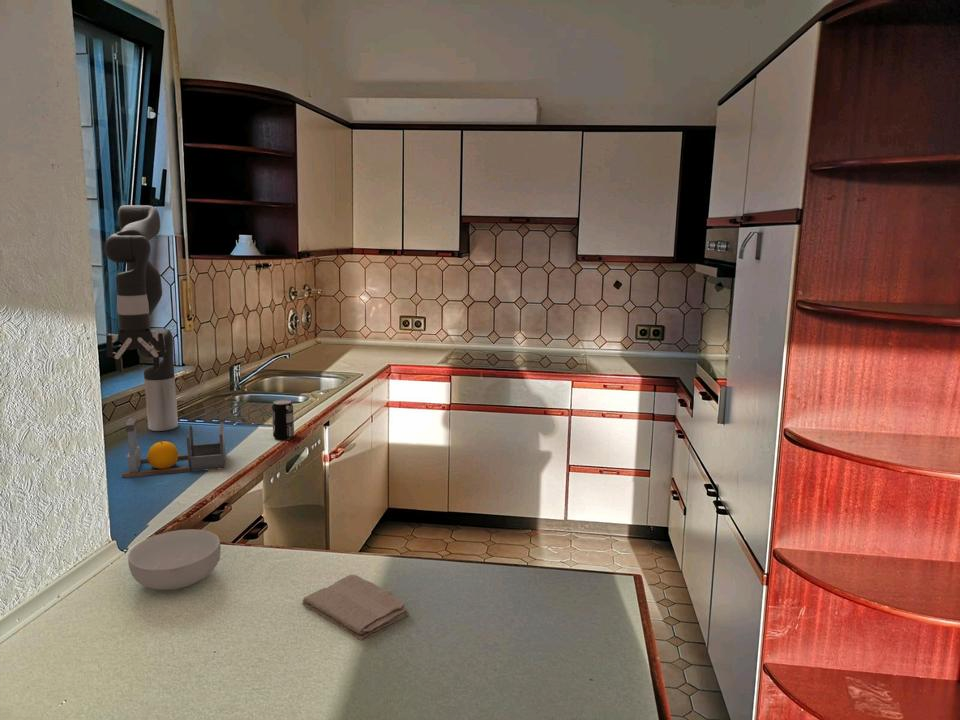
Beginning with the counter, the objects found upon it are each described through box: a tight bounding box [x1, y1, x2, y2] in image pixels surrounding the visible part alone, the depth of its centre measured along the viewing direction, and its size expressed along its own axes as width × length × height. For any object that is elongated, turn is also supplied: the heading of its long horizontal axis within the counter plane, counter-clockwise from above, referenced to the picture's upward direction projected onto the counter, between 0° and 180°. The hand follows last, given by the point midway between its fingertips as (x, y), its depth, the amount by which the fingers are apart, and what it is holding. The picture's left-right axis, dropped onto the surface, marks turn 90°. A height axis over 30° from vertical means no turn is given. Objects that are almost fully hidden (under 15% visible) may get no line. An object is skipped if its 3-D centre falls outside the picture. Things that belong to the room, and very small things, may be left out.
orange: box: [147, 440, 179, 470], centre depth 203 cm, size 8×8×8 cm
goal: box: [186, 422, 226, 472], centre depth 207 cm, size 12×9×10 cm
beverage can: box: [271, 398, 295, 441], centre depth 231 cm, size 7×7×12 cm
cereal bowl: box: [127, 528, 222, 591], centre depth 141 cm, size 17×17×7 cm
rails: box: [121, 454, 190, 478], centre depth 203 cm, size 12×17×1 cm
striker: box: [124, 417, 142, 473], centre depth 200 cm, size 9×2×14 cm, turn 18°
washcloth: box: [302, 574, 410, 641], centre depth 132 cm, size 12×18×3 cm, turn 50°
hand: (138, 371), depth 194 cm, fingers open, 8 cm apart
